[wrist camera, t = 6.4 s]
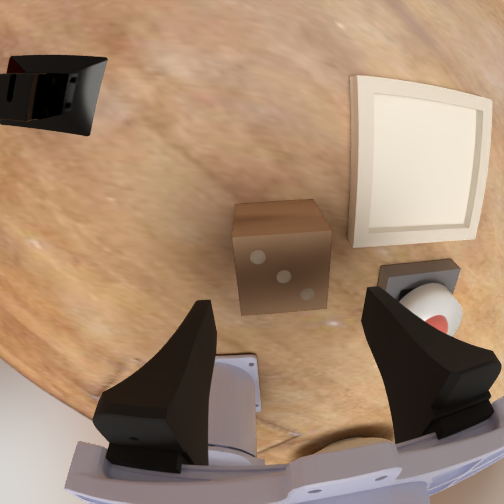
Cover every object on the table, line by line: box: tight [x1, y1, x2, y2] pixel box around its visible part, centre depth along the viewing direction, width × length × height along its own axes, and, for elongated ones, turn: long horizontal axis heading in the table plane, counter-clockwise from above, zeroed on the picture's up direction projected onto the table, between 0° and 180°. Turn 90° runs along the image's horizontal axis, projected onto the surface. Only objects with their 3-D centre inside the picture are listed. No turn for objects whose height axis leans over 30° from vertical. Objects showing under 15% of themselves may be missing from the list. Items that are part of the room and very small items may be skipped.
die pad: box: [347, 75, 492, 248], centre depth 17 cm, size 11×11×1 cm
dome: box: [399, 283, 462, 336], centre depth 21 cm, size 6×6×5 cm
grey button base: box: [377, 259, 461, 302], centre depth 23 cm, size 7×7×2 cm
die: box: [232, 199, 332, 316], centre depth 18 cm, size 5×5×5 cm
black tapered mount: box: [0, 55, 108, 136], centre depth 13 cm, size 12×7×5 cm, turn 73°
